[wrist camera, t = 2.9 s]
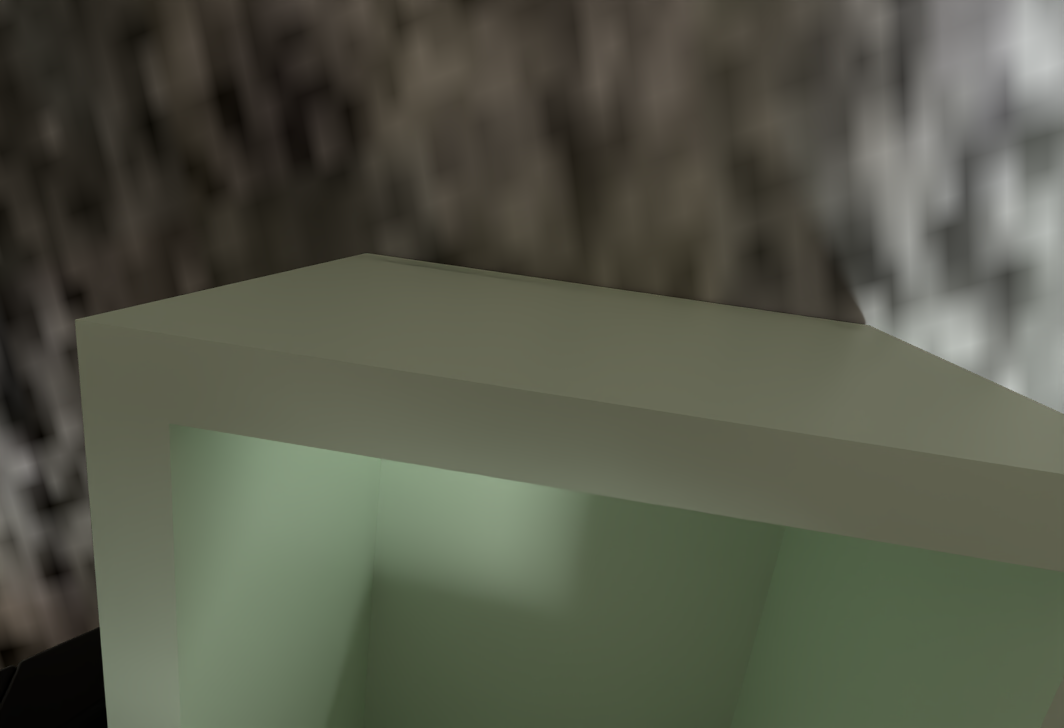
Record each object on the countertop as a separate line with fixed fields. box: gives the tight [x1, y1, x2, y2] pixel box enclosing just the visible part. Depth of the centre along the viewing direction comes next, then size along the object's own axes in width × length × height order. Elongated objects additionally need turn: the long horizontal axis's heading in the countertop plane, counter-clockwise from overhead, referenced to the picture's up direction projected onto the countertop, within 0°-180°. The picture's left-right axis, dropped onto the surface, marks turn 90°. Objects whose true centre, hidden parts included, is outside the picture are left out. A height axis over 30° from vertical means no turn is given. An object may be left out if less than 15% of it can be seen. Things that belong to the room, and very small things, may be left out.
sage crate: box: [75, 253, 1064, 728], centre depth 7 cm, size 7×9×5 cm
